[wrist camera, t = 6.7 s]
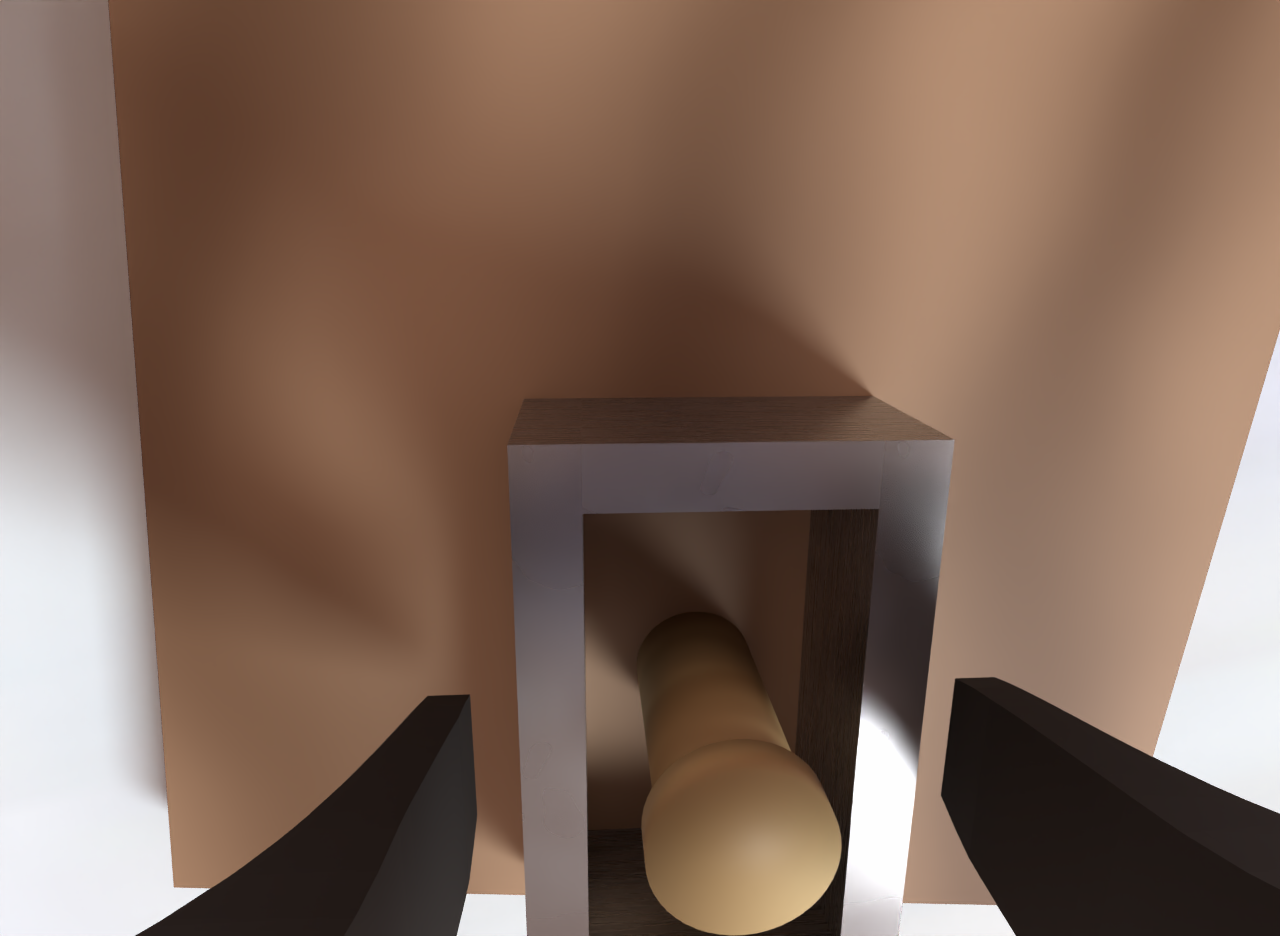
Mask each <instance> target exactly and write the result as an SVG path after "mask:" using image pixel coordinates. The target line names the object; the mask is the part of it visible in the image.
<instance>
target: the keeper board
mask: <svg viewBox="0 0 1280 936" xmlns="http://www.w3.org/2000/svg"><path fill="white" fill-rule="evenodd" d="M108 3H109V17H110V30H111V44H112V57H113V71H114V84H115V98H116V111H117V125H118V138H119V152H120V165H121V179H122V192H123V206H124V219H125V233H126V246H127V260H128V273H129V287H130V300H131V314H132V327H133V341H134V354H135V368H136V382H137V395H138V409H139V422H140V436H141V449H142V463H143V476H144V490H145V503H146V517H147V530H148V544H149V557H150V571H151V584H152V598H153V611H154V625H155V638H156V652H157V665H158V679H159V692H160V706H161V719H162V733H163V746H164V760H165V773H166V787H167V800H168V814H169V827H170V841H171V854H172V868H173V881H174V887H181V888H212V887H214V886H215V885H217V884H218V883H220V882H221V881H223V880H224V879H226V878H227V877H229V876H230V875H232V874H233V873H235V872H236V871H237V870H239V869H240V868H242V867H243V866H244V865H246V864H247V863H248V862H250V861H251V860H252V859H254V858H255V857H256V856H258V855H259V854H260V853H262V852H263V851H264V850H266V849H267V848H268V847H270V846H271V845H272V844H274V843H275V842H276V841H278V840H279V839H280V838H281V837H283V836H284V835H285V834H286V833H288V832H289V831H290V830H291V829H293V828H294V827H295V826H296V825H297V824H298V823H300V822H301V821H302V820H303V819H304V818H306V817H307V816H308V815H309V814H310V813H311V812H312V811H313V810H314V809H316V808H317V807H318V806H319V805H320V804H321V803H322V802H323V801H324V800H325V799H327V798H328V797H329V796H330V795H331V794H332V793H333V792H334V791H335V790H336V789H337V788H339V787H340V786H341V785H342V784H343V783H344V782H345V781H346V780H347V779H348V778H349V777H350V776H351V775H352V774H353V773H354V772H355V771H356V770H357V769H358V768H359V767H360V766H361V765H362V764H363V763H364V762H365V761H366V760H367V759H368V758H369V757H370V756H371V755H372V754H373V753H374V752H375V751H376V750H377V749H378V748H379V746H380V745H381V744H382V743H383V742H384V741H385V740H386V739H387V738H388V737H389V736H390V735H391V734H392V733H393V732H394V730H395V729H396V728H397V727H398V726H399V725H400V724H401V723H402V722H403V721H404V720H405V719H406V717H407V716H408V715H409V714H410V713H411V712H412V711H413V710H414V709H415V708H416V707H417V706H418V705H419V704H420V703H421V702H422V701H423V700H424V699H425V698H426V697H427V696H436V695H466V694H470V700H471V717H472V734H473V751H474V768H475V784H476V801H477V822H476V831H475V840H474V848H473V856H472V864H471V872H470V880H469V885H468V890H467V894H508V895H525V871H524V847H523V822H522V797H521V773H520V748H519V724H518V699H517V674H516V650H515V625H514V600H513V576H512V551H511V526H510V502H509V477H508V452H507V444H508V442H509V439H510V436H511V433H512V431H513V428H514V425H515V422H516V420H517V417H518V414H519V411H520V409H521V406H522V403H523V400H524V399H534V398H659V397H785V396H874V397H876V398H878V399H880V400H882V401H884V402H885V403H887V404H889V405H891V406H893V407H895V408H897V409H898V410H900V411H902V412H904V413H906V414H908V415H910V416H911V417H913V418H915V419H917V420H919V421H921V422H923V423H924V424H926V425H928V426H930V427H932V428H934V429H936V430H937V431H939V432H941V433H943V434H945V435H947V436H949V437H950V438H952V439H954V440H955V442H954V451H953V460H952V469H951V478H950V486H949V495H948V504H947V513H946V522H945V531H944V539H943V548H942V557H941V566H940V575H939V583H938V592H937V601H936V610H935V619H934V628H933V636H932V645H931V654H930V663H929V672H928V681H927V689H926V698H925V707H924V716H923V725H922V734H921V742H920V751H919V760H918V769H917V778H916V786H915V795H914V804H913V813H912V822H911V831H910V839H909V848H908V857H907V866H906V875H905V884H904V892H903V901H902V903H930V904H976V905H997V904H996V903H995V901H994V899H993V898H992V896H991V894H990V893H989V891H988V889H987V888H986V886H985V884H984V883H983V881H982V880H981V878H980V876H979V875H978V873H977V871H976V870H975V868H974V866H973V864H972V863H971V861H970V859H969V858H968V855H967V853H966V851H965V849H964V847H963V845H962V843H961V840H960V838H959V836H958V834H957V832H956V830H955V827H954V825H953V823H952V820H951V818H950V816H949V813H948V811H947V809H946V806H945V804H944V802H943V799H942V797H941V789H942V781H943V773H944V764H945V756H946V748H947V740H948V732H949V724H950V715H951V707H952V699H953V691H954V683H955V678H981V677H996V678H998V679H1001V680H1003V681H1006V682H1008V683H1010V684H1012V685H1015V686H1017V687H1019V688H1021V689H1023V690H1025V691H1027V692H1029V693H1031V694H1033V695H1035V696H1037V697H1039V698H1041V699H1043V700H1045V701H1047V702H1048V703H1050V704H1052V705H1054V706H1056V707H1058V708H1060V709H1062V710H1064V711H1065V712H1067V713H1069V714H1071V715H1073V716H1075V717H1077V718H1079V719H1081V720H1082V721H1084V722H1086V723H1088V724H1090V725H1092V726H1094V727H1096V728H1098V729H1099V730H1101V731H1103V732H1105V733H1107V734H1109V735H1111V736H1113V737H1115V738H1117V739H1119V740H1120V741H1122V742H1124V743H1126V744H1128V745H1130V746H1132V747H1134V748H1136V749H1138V750H1140V751H1142V752H1144V753H1146V754H1148V755H1150V756H1152V757H1153V754H1154V750H1155V747H1156V744H1157V740H1158V737H1159V734H1160V730H1161V727H1162V723H1163V720H1164V717H1165V713H1166V710H1167V707H1168V703H1169V700H1170V697H1171V693H1172V690H1173V687H1174V683H1175V680H1176V676H1177V673H1178V670H1179V666H1180V663H1181V660H1182V656H1183V653H1184V650H1185V646H1186V643H1187V639H1188V636H1189V633H1190V629H1191V626H1192V623H1193V619H1194V616H1195V613H1196V609H1197V606H1198V602H1199V599H1200V596H1201V592H1202V589H1203V586H1204V582H1205V579H1206V576H1207V572H1208V569H1209V566H1210V562H1211V559H1212V555H1213V552H1214V549H1215V545H1216V542H1217V539H1218V535H1219V532H1220V529H1221V525H1222V522H1223V518H1224V515H1225V512H1226V508H1227V505H1228V502H1229V498H1230V495H1231V492H1232V488H1233V485H1234V482H1235V478H1236V475H1237V471H1238V468H1239V465H1240V461H1241V458H1242V455H1243V451H1244V448H1245V445H1246V441H1247V438H1248V434H1249V431H1250V428H1251V424H1252V421H1253V418H1254V414H1255V411H1256V408H1257V404H1258V401H1259V397H1260V394H1261V391H1262V387H1263V384H1264V381H1265V377H1266V374H1267V371H1268V367H1269V364H1270V361H1271V357H1272V354H1273V350H1274V347H1275V344H1276V340H1277V337H1278V334H1279V330H1280V0H108ZM810 515H811V510H778V511H721V512H664V513H607V514H583V529H584V597H585V665H586V733H587V801H588V830H602V829H625V828H641V830H642V840H643V850H644V860H645V869H646V875H647V879H648V882H649V885H650V887H651V889H652V891H653V894H654V895H655V897H656V898H657V900H658V901H659V903H660V904H661V905H662V906H663V907H664V908H665V909H666V910H667V911H668V912H669V913H670V914H671V915H673V916H674V917H675V918H677V919H678V920H680V921H681V922H683V923H685V924H687V925H689V926H691V927H693V928H696V929H698V930H702V931H705V932H708V933H714V934H719V935H748V934H755V933H760V932H764V931H768V930H771V929H774V928H776V927H779V926H781V925H784V924H786V923H788V922H790V921H792V920H793V919H795V918H796V917H798V916H800V915H801V914H803V913H804V912H805V911H806V910H808V909H809V908H810V907H811V906H813V905H814V904H815V903H816V902H817V901H818V900H819V898H820V897H821V896H822V895H823V894H824V892H825V891H826V890H827V888H828V887H829V885H830V883H831V882H832V880H833V878H834V876H835V873H836V871H837V869H838V865H839V861H840V857H841V848H842V845H841V833H840V828H839V824H838V822H837V819H836V816H835V814H834V812H833V810H832V807H831V805H830V803H829V800H828V798H827V796H826V794H825V791H824V789H823V787H822V784H821V782H820V781H819V779H818V777H817V775H816V774H815V773H814V771H813V770H812V769H811V768H810V766H809V765H808V764H807V763H805V762H804V761H803V760H802V759H801V758H800V757H798V756H797V755H795V744H796V729H797V713H798V698H799V683H800V667H801V652H802V637H803V622H804V606H805V591H806V576H807V560H808V545H809V530H810Z"/></svg>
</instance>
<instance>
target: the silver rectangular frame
mask: <svg viewBox="0 0 1280 936" xmlns="http://www.w3.org/2000/svg"><path fill="white" fill-rule="evenodd" d="M954 442H955V440H954V439H952V438H950V437H949V436H947V435H945V434H943V433H941V432H939V431H937V430H936V429H934V428H932V427H930V426H928V425H926V424H924V423H923V422H921V421H919V420H917V419H915V418H913V417H911V416H910V415H908V414H906V413H904V412H902V411H900V410H898V409H897V408H895V407H893V406H891V405H889V404H887V403H885V402H884V401H882V400H880V399H878V398H876V397H874V396H785V397H659V398H534V399H524V400H523V403H522V406H521V409H520V411H519V414H518V417H517V420H516V422H515V425H514V428H513V431H512V433H511V436H510V439H509V442H508V444H507V452H508V477H509V502H510V526H511V551H512V576H513V600H514V625H515V650H516V674H517V699H518V724H519V748H520V773H521V797H522V822H523V847H524V871H525V896H526V921H527V936H899V928H900V919H901V910H902V901H903V892H904V884H905V875H906V866H907V857H908V848H909V839H910V831H911V822H912V813H913V804H914V795H915V786H916V778H917V769H918V760H919V751H920V742H921V734H922V725H923V716H924V707H925V698H926V689H927V681H928V672H929V663H930V654H931V645H932V636H933V628H934V619H935V610H936V601H937V592H938V583H939V575H940V566H941V557H942V548H943V539H944V531H945V522H946V513H947V504H948V495H949V486H950V478H951V469H952V460H953V451H954ZM778 510H811V515H810V530H809V545H808V560H807V576H806V591H805V606H804V622H803V637H802V652H801V667H800V683H799V698H798V713H797V729H796V744H795V755H797V756H798V757H800V758H801V759H802V760H803V761H804V762H805V763H807V764H808V765H809V766H810V768H811V769H812V770H813V771H814V773H815V774H816V775H817V777H818V779H819V781H820V782H821V784H822V787H823V789H824V791H825V794H826V796H827V798H828V800H829V803H830V805H831V807H832V810H833V812H834V814H835V816H836V819H837V822H838V824H839V828H840V833H841V845H842V848H841V857H840V861H839V865H838V869H837V871H836V873H835V876H834V878H833V880H832V882H831V883H830V885H829V887H828V888H827V890H826V891H825V892H824V894H823V895H822V896H821V897H820V898H819V900H818V901H817V902H816V903H815V904H814V905H813V906H811V907H810V908H809V909H808V910H806V911H805V912H804V913H803V914H801V915H800V916H798V917H796V918H795V919H793V920H792V921H790V922H788V923H786V924H784V925H781V926H779V927H776V928H774V929H771V930H768V931H764V932H760V933H755V934H748V935H719V934H714V933H708V932H705V931H702V930H698V929H696V928H693V927H691V926H689V925H687V924H685V923H683V922H681V921H680V920H678V919H677V918H675V917H674V916H673V915H671V914H670V913H669V912H668V911H667V910H666V909H665V908H664V907H663V906H662V905H661V904H660V903H659V901H658V900H657V898H656V897H655V895H654V894H653V891H652V889H651V887H650V885H649V882H648V879H647V875H646V869H645V860H644V850H643V840H642V830H641V828H625V829H602V830H588V801H587V733H586V665H585V597H584V529H583V514H607V513H664V512H721V511H778Z"/></svg>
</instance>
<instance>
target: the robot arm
mask: <svg viewBox="0 0 1280 936" xmlns="http://www.w3.org/2000/svg"><path fill="white" fill-rule="evenodd" d="M941 797H942V799H943V802H944V804H945V806H946V809H947V811H948V813H949V816H950V818H951V820H952V823H953V825H954V827H955V830H956V832H957V834H958V836H959V838H960V840H961V843H962V845H963V847H964V849H965V851H966V853H967V855H968V858H969V859H970V861H971V863H972V864H973V866H974V868H975V870H976V871H977V873H978V875H979V876H980V878H981V880H982V881H983V883H984V884H985V886H986V888H987V889H988V891H989V893H990V894H991V896H992V898H993V899H994V901H995V903H996V904H997V906H998V907H999V909H1000V911H1001V912H1002V914H1003V916H1004V917H1005V919H1006V920H1007V922H1008V924H1009V925H1010V927H1011V928H1012V930H1013V932H1014V933H1015V935H1016V936H1280V814H1279V813H1277V812H1274V811H1272V810H1269V809H1267V808H1264V807H1262V806H1259V805H1257V804H1254V803H1252V802H1250V801H1247V800H1245V799H1242V798H1240V797H1238V796H1235V795H1233V794H1231V793H1228V792H1226V791H1224V790H1222V789H1219V788H1217V787H1215V786H1213V785H1210V784H1208V783H1206V782H1204V781H1202V780H1200V779H1198V778H1196V777H1194V776H1191V775H1189V774H1187V773H1185V772H1183V771H1181V770H1179V769H1177V768H1175V767H1172V766H1170V765H1168V764H1166V763H1164V762H1162V761H1160V760H1158V759H1156V758H1154V757H1152V756H1150V755H1148V754H1146V753H1144V752H1142V751H1140V750H1138V749H1136V748H1134V747H1132V746H1130V745H1128V744H1126V743H1124V742H1122V741H1120V740H1119V739H1117V738H1115V737H1113V736H1111V735H1109V734H1107V733H1105V732H1103V731H1101V730H1099V729H1098V728H1096V727H1094V726H1092V725H1090V724H1088V723H1086V722H1084V721H1082V720H1081V719H1079V718H1077V717H1075V716H1073V715H1071V714H1069V713H1067V712H1065V711H1064V710H1062V709H1060V708H1058V707H1056V706H1054V705H1052V704H1050V703H1048V702H1047V701H1045V700H1043V699H1041V698H1039V697H1037V696H1035V695H1033V694H1031V693H1029V692H1027V691H1025V690H1023V689H1021V688H1019V687H1017V686H1015V685H1012V684H1010V683H1008V682H1006V681H1003V680H1001V679H998V678H996V677H981V678H955V683H954V691H953V699H952V707H951V715H950V724H949V732H948V740H947V748H946V756H945V764H944V773H943V781H942V789H941ZM476 822H477V801H476V784H475V768H474V751H473V734H472V717H471V700H470V694H466V695H436V696H427V697H426V698H425V699H424V700H423V701H422V702H421V703H420V704H419V705H418V706H417V707H416V708H415V709H414V710H413V711H412V712H411V713H410V714H409V715H408V716H407V717H406V719H405V720H404V721H403V722H402V723H401V724H400V725H399V726H398V727H397V728H396V729H395V730H394V732H393V733H392V734H391V735H390V736H389V737H388V738H387V739H386V740H385V741H384V742H383V743H382V744H381V745H380V746H379V748H378V749H377V750H376V751H375V752H374V753H373V754H372V755H371V756H370V757H369V758H368V759H367V760H366V761H365V762H364V763H363V764H362V765H361V766H360V767H359V768H358V769H357V770H356V771H355V772H354V773H353V774H352V775H351V776H350V777H349V778H348V779H347V780H346V781H345V782H344V783H343V784H342V785H341V786H340V787H339V788H337V789H336V790H335V791H334V792H333V793H332V794H331V795H330V796H329V797H328V798H327V799H325V800H324V801H323V802H322V803H321V804H320V805H319V806H318V807H317V808H316V809H314V810H313V811H312V812H311V813H310V814H309V815H308V816H307V817H306V818H304V819H303V820H302V821H301V822H300V823H298V824H297V825H296V826H295V827H294V828H293V829H291V830H290V831H289V832H288V833H286V834H285V835H284V836H283V837H281V838H280V839H279V840H278V841H276V842H275V843H274V844H272V845H271V846H270V847H268V848H267V849H266V850H264V851H263V852H262V853H260V854H259V855H258V856H256V857H255V858H254V859H252V860H251V861H250V862H248V863H247V864H246V865H244V866H243V867H242V868H240V869H239V870H237V871H236V872H235V873H233V874H232V875H230V876H229V877H227V878H226V879H224V880H223V881H221V882H220V883H218V884H217V885H215V886H214V887H212V888H211V889H209V890H207V891H206V892H204V893H203V894H201V895H200V896H198V897H197V898H195V899H194V900H192V901H191V902H189V903H187V904H186V905H184V906H183V907H181V908H180V909H178V910H177V911H175V912H174V913H172V914H171V915H169V916H167V917H166V918H164V919H163V920H161V921H160V922H158V923H156V924H155V925H153V926H151V927H149V928H148V929H146V930H144V931H143V932H141V933H139V934H137V935H136V936H457V932H458V927H459V923H460V919H461V915H462V911H463V907H464V902H465V898H466V894H467V890H468V885H469V880H470V872H471V864H472V856H473V848H474V840H475V831H476Z"/></svg>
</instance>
